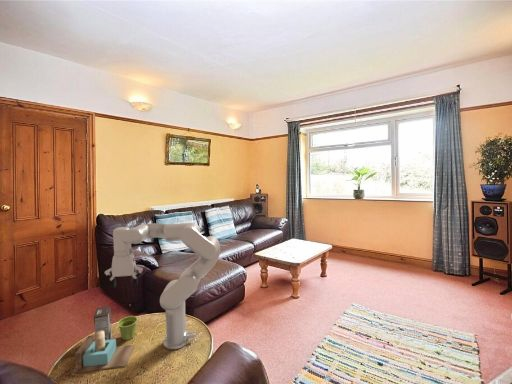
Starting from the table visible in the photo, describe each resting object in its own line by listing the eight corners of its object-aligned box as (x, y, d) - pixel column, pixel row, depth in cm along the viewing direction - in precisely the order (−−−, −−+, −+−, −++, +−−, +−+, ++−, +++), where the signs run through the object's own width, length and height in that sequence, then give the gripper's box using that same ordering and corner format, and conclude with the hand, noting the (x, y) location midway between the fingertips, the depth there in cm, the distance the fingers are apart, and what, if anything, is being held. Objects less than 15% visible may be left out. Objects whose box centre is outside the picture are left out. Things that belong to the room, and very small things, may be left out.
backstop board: (135, 345, 128) (134, 330, 128) (125, 366, 115) (124, 349, 114) (89, 350, 125) (88, 334, 124) (73, 372, 111) (72, 355, 111)
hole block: (116, 348, 125) (115, 339, 125) (107, 364, 115) (107, 353, 115) (94, 351, 124) (93, 341, 123) (83, 366, 114) (82, 356, 113)
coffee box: (98, 337, 135) (96, 307, 134) (112, 334, 138) (110, 305, 136) (95, 348, 127) (93, 317, 125) (110, 344, 129) (108, 314, 128)
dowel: (107, 354, 122) (105, 330, 121) (103, 360, 118) (102, 335, 117) (98, 355, 121) (96, 331, 120) (94, 361, 117) (92, 336, 116)
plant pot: (139, 338, 134) (139, 322, 133) (119, 345, 129) (118, 328, 128) (136, 329, 142) (135, 314, 141) (117, 335, 136) (116, 319, 136)
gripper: (143, 249, 131) (145, 281, 132) (107, 251, 128) (109, 284, 129) (139, 254, 123) (141, 288, 125) (100, 256, 120) (102, 291, 122)
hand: (124, 286), depth 127 cm, fingers open, 9 cm apart
